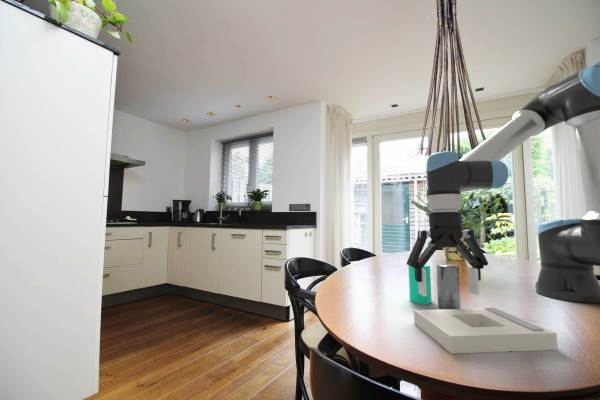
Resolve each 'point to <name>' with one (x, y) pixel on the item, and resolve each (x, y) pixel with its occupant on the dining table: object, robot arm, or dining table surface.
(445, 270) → the tall grey prism
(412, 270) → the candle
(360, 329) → the dining table surface
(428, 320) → the jig
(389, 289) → the dining table surface
